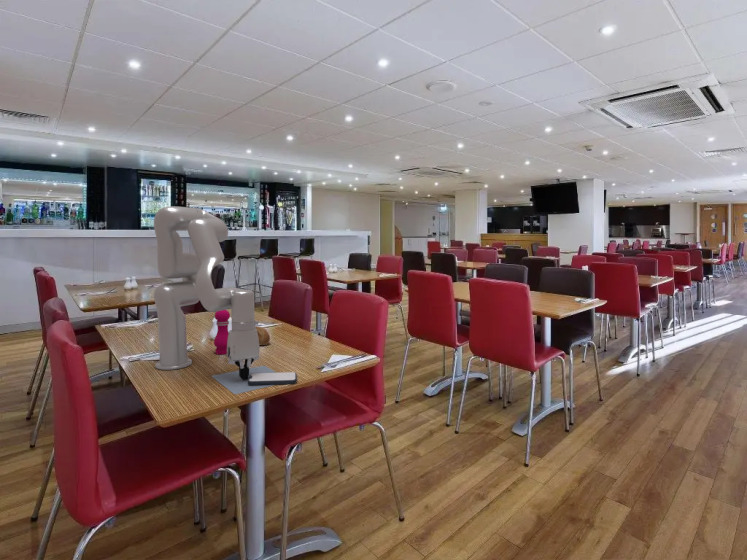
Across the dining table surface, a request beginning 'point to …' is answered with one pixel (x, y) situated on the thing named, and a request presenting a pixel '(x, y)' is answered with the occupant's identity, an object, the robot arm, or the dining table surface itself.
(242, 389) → the slate mat
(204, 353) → the dining table surface
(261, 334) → the bread roll
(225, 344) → the pepper mill
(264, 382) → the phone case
